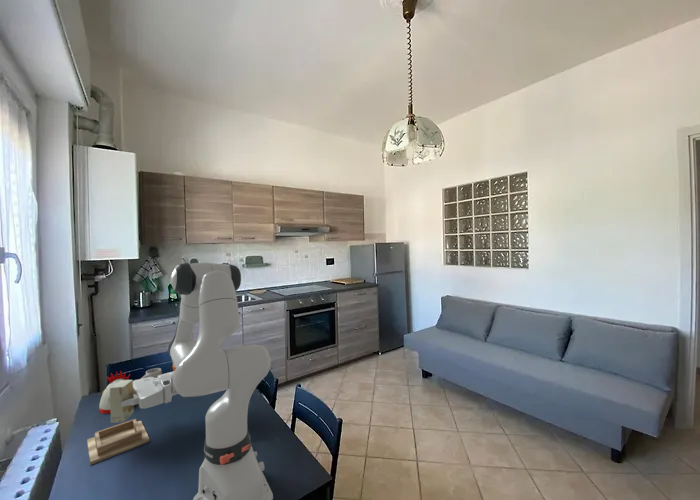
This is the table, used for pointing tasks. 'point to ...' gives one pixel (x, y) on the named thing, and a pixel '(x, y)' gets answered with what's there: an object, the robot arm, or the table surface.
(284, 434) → the table surface
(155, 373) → the mug
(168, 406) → the table surface
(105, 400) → the kitchen timer
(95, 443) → the oak stand
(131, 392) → the skincare box
